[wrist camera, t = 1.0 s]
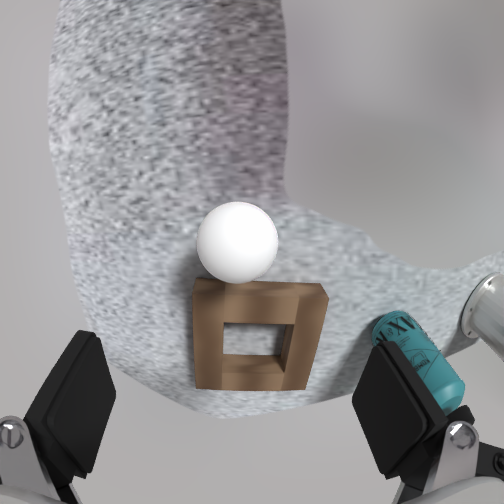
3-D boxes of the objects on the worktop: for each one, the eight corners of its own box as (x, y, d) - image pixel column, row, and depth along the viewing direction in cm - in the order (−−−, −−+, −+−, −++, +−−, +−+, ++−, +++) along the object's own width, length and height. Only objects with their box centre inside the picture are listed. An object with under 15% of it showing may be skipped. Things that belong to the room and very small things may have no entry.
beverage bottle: (413, 310, 35) (496, 408, 16) (388, 346, 37) (452, 451, 18) (382, 297, 34) (471, 409, 15) (355, 337, 36) (419, 457, 17)
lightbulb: (257, 251, 31) (269, 306, 20) (200, 238, 30) (183, 287, 19) (273, 196, 29) (296, 225, 18) (214, 180, 28) (202, 201, 17)
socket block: (320, 283, 32) (329, 298, 29) (300, 372, 37) (304, 389, 34) (196, 277, 31) (192, 293, 28) (198, 370, 36) (196, 388, 33)
